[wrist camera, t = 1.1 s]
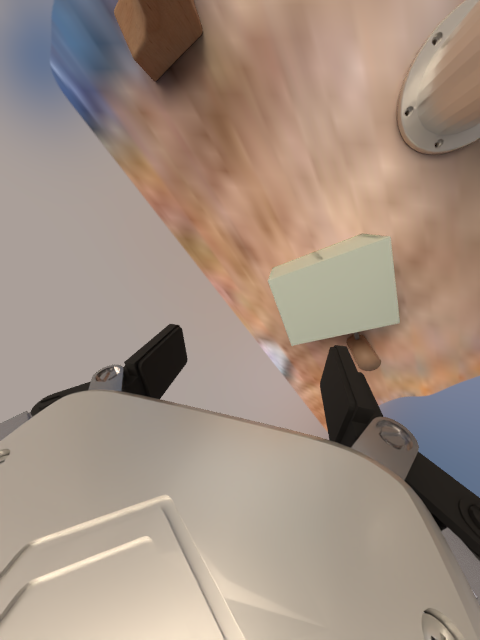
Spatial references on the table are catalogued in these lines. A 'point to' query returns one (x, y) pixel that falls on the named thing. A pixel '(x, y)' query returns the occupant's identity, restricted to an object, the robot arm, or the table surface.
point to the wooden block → (158, 31)
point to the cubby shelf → (337, 289)
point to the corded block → (363, 352)
